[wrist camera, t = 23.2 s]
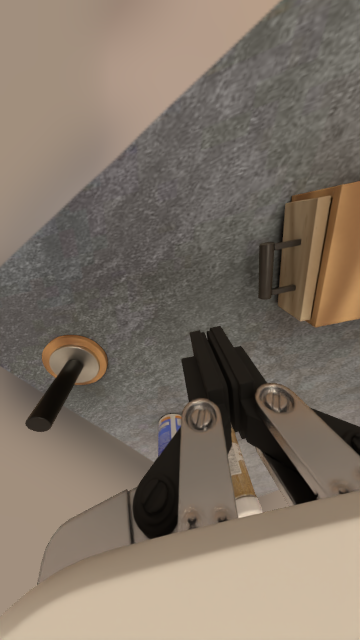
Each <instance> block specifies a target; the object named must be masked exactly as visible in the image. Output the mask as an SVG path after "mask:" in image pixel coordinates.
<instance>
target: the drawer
mask: <svg viewBox="0 0 360 640" xmlns="http://www.w3.org/2000/svg"><path fill="white" fill-rule="evenodd" d="M330 201H331V195H330V196H324V197H318V198H312V199H307V200H301V201H295V202H290V203H286V204H285V218H284V231H283V242H279V243H274V242H266V243H261V244H260V245H259V291H258V298H259V299H264V300H265V299H270V298H271V295H275V294H279V297H278V306H279V307H280V308H282V309H283V310H285V311H286V312H288V313H289V314H291V315H292V316H293V317H295V318H296V319H298V320H299V321H305V320H310V317H311V311H312V306H313V307H314V301H315V296H316V290H317V284H318V279H319V273H320V267H321V261H322V256H323V250H324V244H325V239H326V233H327V227H328V222H329V216H330V210H331V205H332V201H331V202H330ZM279 249H282V257H281V270H280V284H279V287H278V288H273V289H272V277H273V260H274V250H279Z"/></svg>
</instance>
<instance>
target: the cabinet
mask: <svg viewBox="0 0 360 640" xmlns="http://www.w3.org/2000/svg"><path fill="white" fill-rule="evenodd" d="M330 195H331V201H332V205H331V210H330V216H329V222H328V227H327V233H326V239H325V244H324V250H323V256H322V261H321V267H320V273H319V279H318V284H317V290H316V296H315V301H314V307H313V306H312V311H311V317H310V320H305V321H306V322H308V323H309V324H311V325H312V326H314V327H320V326H325V325H330V324H334V323H339V322H344V321H349V320H354V319H359V318H360V181H358V182H354V183H349V184H344V185H339V186H335V187H330V188H326V189H321V190H317V191H312V192H307V193H303V194H298V195H294V196H292V201H291V202H295V201H301V200H307V199H312V198H318V197H324V196H330ZM331 201H330V202H331Z"/></svg>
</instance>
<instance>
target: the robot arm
mask: <svg viewBox="0 0 360 640" xmlns="http://www.w3.org/2000/svg"><path fill="white" fill-rule="evenodd" d="M190 337H191V342H192V348H193V353H194V356H193V357H188V358H183V359H181V360H182V366H183V371H184V377H185V382H186V388H187V393H188V399H189V403H188V404H187V405H186V406H185V407H184V409H183V411H182V416H181V427H180V428H179V429H178V431H177V432H176V434H175V435H174V436H173V438H172V439H171V440H170V442H169V443H168V445H167V446H166V447H165V449H164V450H163V451H162V453H161V454H160V455H159V457H158V458H157V460H156V461H155V462H154V464H153V465H152V466H151V468H150V469H149V471H148V472H147V473H146V475H145V476H144V477H143V479H142V480H141V482H140V483H139V485H138V487H136V488H134V489H132V490H130V491H128V490H124V491H122V492H120V493H118V494H117V495H115V496H113V497H111V498H109V499H107V500H105V501H103V502H101V503H100V504H98V505H96V506H94V507H92V508H90V509H88V510H86V511H84V512H82V513H81V514H79V515H77V516H75V517H73V518H71V519H69V520H68V521H66V522H65V523H64V524H63V525H61V526H60V527H59V529H58V530H57V531H56V532H55V533H54V535H53V536H52V538H51V540H50V542H49V543H48V545H47V547H46V549H45V553H44V556H43V559H42V563H41V568H40V573H39V578H38V583H37V586H36V587H34V588H33V589H31V590H30V591H29V592H28V593H26V594H25V595H24V596H23V597H22V598H20V599H19V600H18V601H17V602H16V603H14V605H12V606H11V607H10V608H9V609H8V610H7V611H6V612H5V613H4V614H3V615H2V616H1V617H0V640H360V427H359V426H356V425H353V424H351V423H348V422H346V421H343V420H340V419H338V418H335V417H333V416H330V415H328V414H325V413H322V412H320V411H317V410H315V409H312V408H310V407H308V406H307V405H306V404H305V403H304V402H303V401H302V400H301V399H300V398H299V397H298V396H297V395H296V394H295V393H294V392H293V391H291V390H290V389H289V388H287V387H285V386H283V385H280V384H276V383H267V382H266V381H265V379H264V378H263V376H262V375H261V374H260V372H259V371H258V369H257V368H256V366H255V365H254V364H253V362H252V361H251V359H250V358H249V356H248V355H247V353H246V352H245V351H244V349H243V348H242V347H241V346H239V347H233V345H232V344H231V342H230V341H229V339H228V337H227V336H226V334H225V333H224V331H223V329H222V328H221V326H217V327H213V328H210V331H207V338H206V335H205V333H204V332H202V333H201V332H200V330H199V331H194V332H190ZM207 339H208V340H207ZM231 424H232V427H233V429H234V431H235V432H238V431H239V433H240V436H241V438H242V439H245V438H246V440H247V442H248V443H250V444H251V445H253V446H255V448H256V451H257V453H258V455H259V456H260V458H261V460H262V461H263V463H264V465H265V466H266V468H267V470H268V471H269V473H270V475H271V477H272V478H273V480H274V482H275V483H276V485H277V487H278V488H279V490H280V492H281V493H282V495H283V497H284V498H285V500H286V502H287V504H288V505H289V507H285V508H280V509H276V510H272V511H267V512H263V513H259V514H254V515H250V516H246V517H241V518H238V513H237V507H236V501H235V495H234V489H233V483H232V478H231V472H230V466H229V460H228V453H229V451H230V449H231V447H232V436H231V433H232V431H231Z"/></svg>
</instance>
